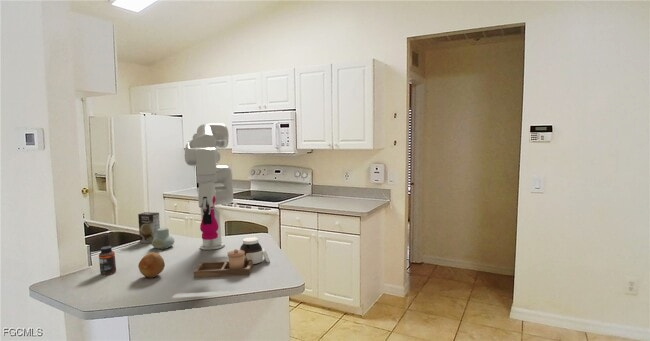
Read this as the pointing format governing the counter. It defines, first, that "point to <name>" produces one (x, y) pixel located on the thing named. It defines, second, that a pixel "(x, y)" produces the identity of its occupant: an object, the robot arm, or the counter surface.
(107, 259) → the supplement bottle
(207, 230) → the pepper mill
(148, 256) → the onion
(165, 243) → the air freshener
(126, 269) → the counter surface
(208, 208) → the robot arm
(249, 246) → the spread jar
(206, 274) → the caddy
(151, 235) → the coffee box
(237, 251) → the salt crock
